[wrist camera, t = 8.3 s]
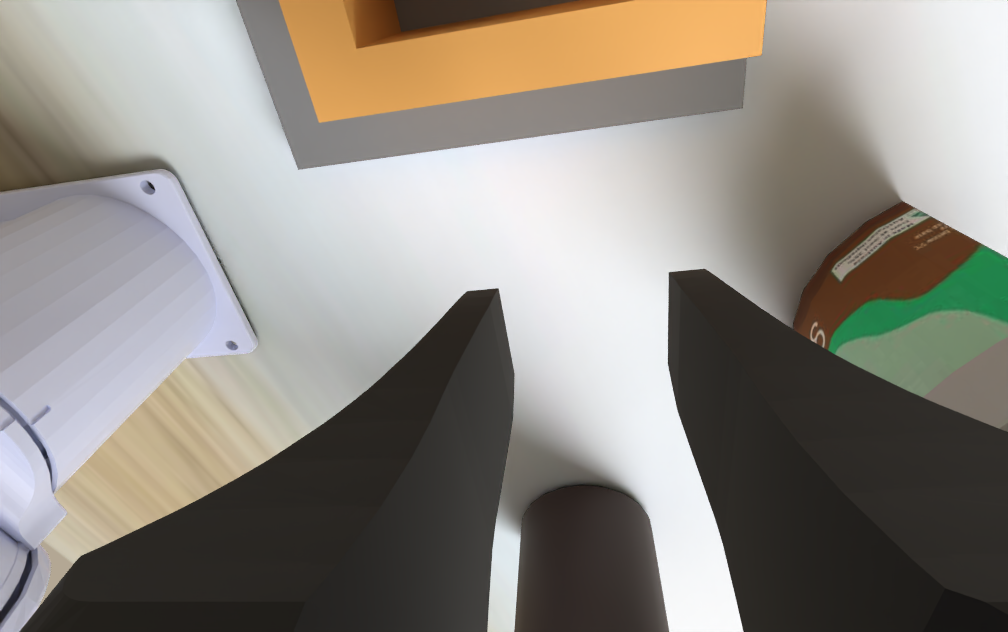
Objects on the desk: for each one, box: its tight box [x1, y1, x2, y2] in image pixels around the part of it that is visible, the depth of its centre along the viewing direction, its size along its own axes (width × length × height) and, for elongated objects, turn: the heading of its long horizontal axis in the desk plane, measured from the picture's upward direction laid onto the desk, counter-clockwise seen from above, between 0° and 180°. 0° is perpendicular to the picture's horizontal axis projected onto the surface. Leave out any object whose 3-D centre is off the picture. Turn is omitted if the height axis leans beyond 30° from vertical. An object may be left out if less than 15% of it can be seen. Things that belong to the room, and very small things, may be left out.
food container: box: [793, 201, 1008, 432], centre depth 16 cm, size 12×6×10 cm, turn 36°
